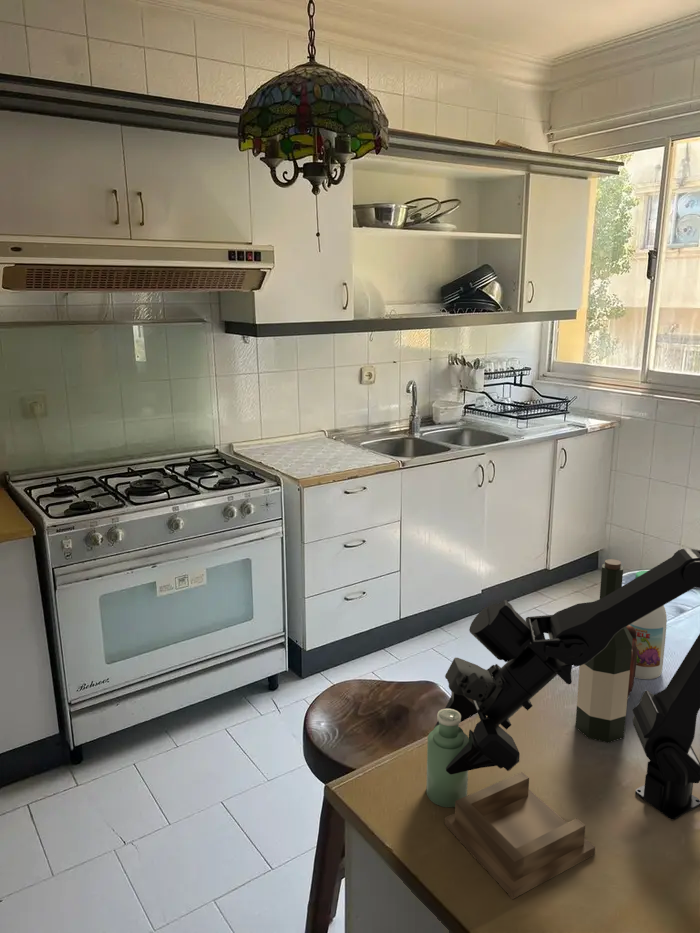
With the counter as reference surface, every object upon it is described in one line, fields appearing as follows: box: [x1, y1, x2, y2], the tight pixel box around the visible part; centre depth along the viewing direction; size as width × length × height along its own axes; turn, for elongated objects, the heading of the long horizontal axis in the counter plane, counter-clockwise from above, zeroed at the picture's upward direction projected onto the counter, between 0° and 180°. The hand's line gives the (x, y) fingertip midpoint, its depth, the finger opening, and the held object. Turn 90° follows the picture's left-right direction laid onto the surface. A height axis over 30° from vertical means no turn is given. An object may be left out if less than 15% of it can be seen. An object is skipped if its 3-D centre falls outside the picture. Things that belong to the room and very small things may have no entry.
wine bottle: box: [575, 558, 633, 743], centre depth 113 cm, size 8×8×30 cm
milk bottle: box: [630, 570, 668, 680], centre depth 131 cm, size 8×8×20 cm
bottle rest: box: [444, 771, 596, 900], centre depth 92 cm, size 14×14×4 cm
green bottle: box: [425, 708, 469, 808], centre depth 100 cm, size 6×6×13 cm
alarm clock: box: [627, 625, 637, 699], centre depth 123 cm, size 11×5×15 cm, turn 152°
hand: (441, 750), depth 100 cm, fingers open, 9 cm apart
